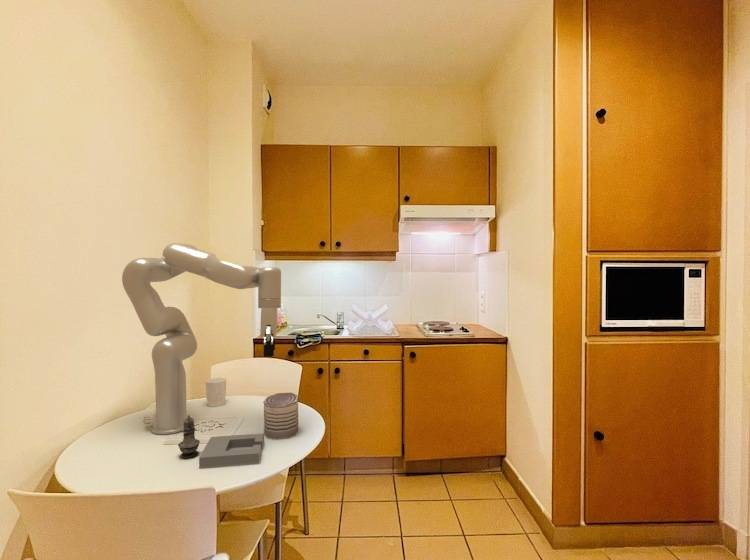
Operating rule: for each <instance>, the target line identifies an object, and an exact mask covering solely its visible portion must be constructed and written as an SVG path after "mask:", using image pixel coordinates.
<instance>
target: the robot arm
mask: <svg viewBox="0 0 750 560" xmlns="http://www.w3.org/2000/svg"><path fill="white" fill-rule="evenodd" d="M185 272H187V273H190V274H193V275H198V276H201V277H203V278H205V279H207V280H210V281H212V282H214V283H216V284H219V285H223V286H227V287H230V288H233V289H237V290H245V289H246V290H247V289H254V288H257V289H258V290H257V291H258V293H257V295H258V296H257V308H258V309H260V331H259V332H260V335H259V336H260V338H261V339H263V338H264V339H263V357H264V358H267V357H269V358H272V357H274V356H275V355H274V353H275V350H276V339H275V338H276V335H277V328H278V309H281V308H282V271H281V269H280V268H279V267H276V266H275V267H274V266H273V267H272V266H269V267H268V266H267V267H266V266H265V267H257V266H246V265H245V266H244V265H238V264H234V263H231V262H228V261H224V260H221V259H219V258H218V257H217V256H216V254H214V253H212V252H209V251H205V250H202V249H199V248H197V247H196V246H194V245H192V244H189V243H180V242H177V243H176V242H174V243H173V242H172V243H170V244H168V245H166V246H165V247H164V249H163V250H162V257H158V258H157V257H156V258H155V257H139V258H134V259H133V260H131V261H130V262H128V263H127V264H126V266H125V267H124V269H123V271H122V276H121V283H122V287H123V289H124V291H125V293H126V295H127V296H128V298H129V300H130V302H131V303H132V305H133V307H134V311H135V313H136V315H137V317H138V318H139V319H138V320H139V321H140V323H141V325H142V328H143V329H144V331H145V332H146V334H147V335H149V336H151V337H160V336H163V335H165V336H166V337H165V338H161V339H159V340H158V341H157V342H156V343H155V344H154V345H153V347H152V350H151V359H152V364H153V365H152V366H153V371H154V384H155V414H154V415H152V416H144V417H143V419H142V422H143V424H144V425H150V426H151V427H150V432H151V433H152V434H154V435H155V434H156V435H171V434H175V433H176V434H177V433H180V432H182V431H183V430H184V420H185V419H187V418H188V416H187V376H186V373H187V372H186V369H185V366H184V364H183V361H185V360H187V359H189V358H191V357H192V356H193V355H195V353H196V351H197V349H198V342H197V338H196V336H195V334H194V332H193V330H192V328H191V326H190V323H189V322H188V320H187V318H186V316H185V314H184V312H182V311H181V309H179V308H177V307H175V306H165V305H164V303H163V301H162V299H161V296H160V294H159V293H158V292H157V290H156V289H155V288H154V287H153V286H152V285H151V283H157V282H158V283H159V282H166V281H169V280H171V279H173V278H176V277H177V276H179V275H182V274H184V273H185Z"/></svg>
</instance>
